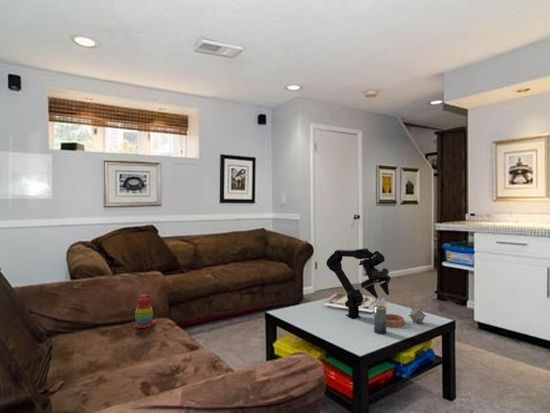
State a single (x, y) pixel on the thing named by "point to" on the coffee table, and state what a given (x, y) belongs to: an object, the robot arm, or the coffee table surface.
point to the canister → (380, 319)
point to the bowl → (394, 320)
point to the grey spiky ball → (417, 315)
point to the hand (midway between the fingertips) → (382, 296)
